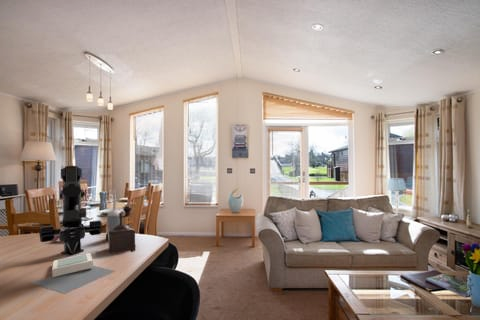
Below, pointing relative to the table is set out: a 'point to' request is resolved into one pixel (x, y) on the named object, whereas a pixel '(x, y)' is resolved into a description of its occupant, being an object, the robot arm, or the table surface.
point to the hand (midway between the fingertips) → (72, 252)
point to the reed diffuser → (113, 217)
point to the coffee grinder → (122, 235)
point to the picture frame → (72, 264)
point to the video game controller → (56, 238)
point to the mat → (73, 279)
